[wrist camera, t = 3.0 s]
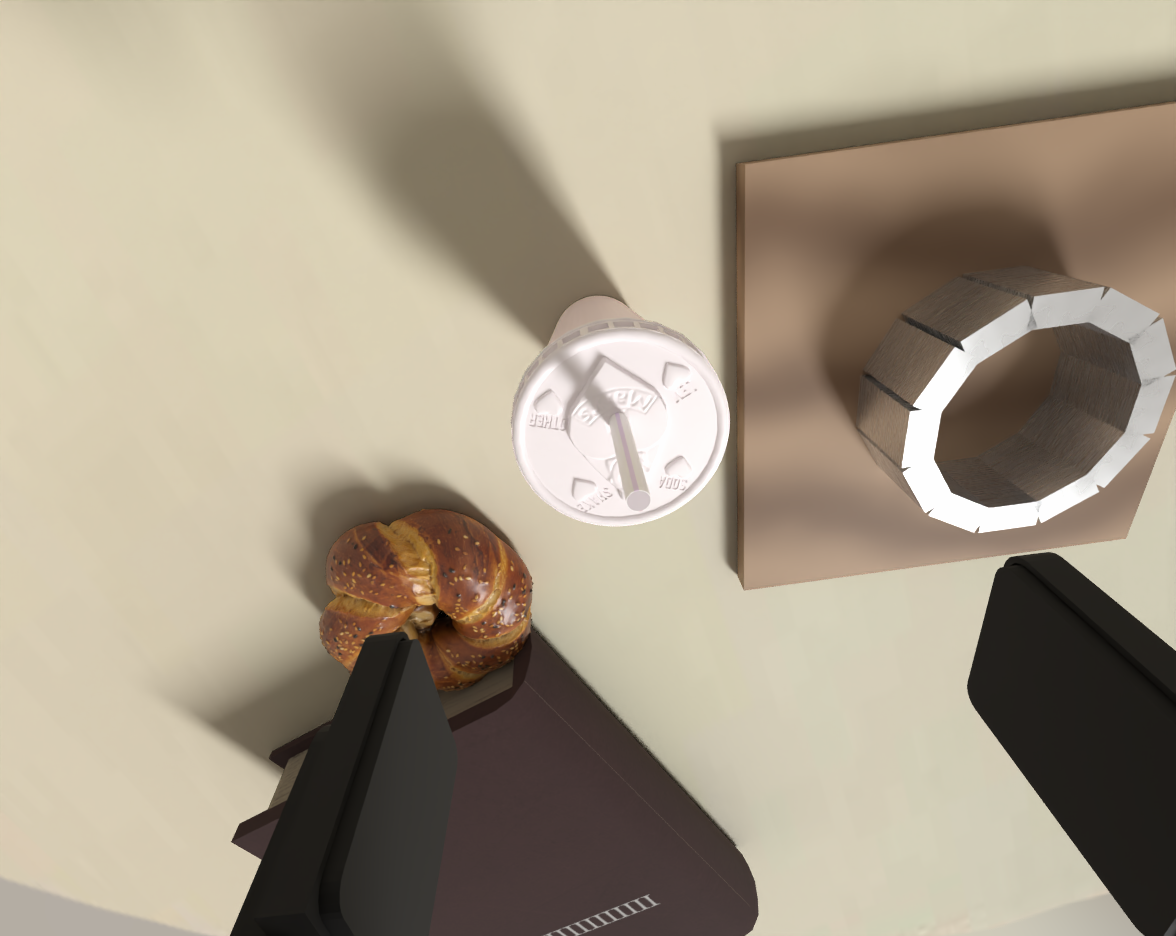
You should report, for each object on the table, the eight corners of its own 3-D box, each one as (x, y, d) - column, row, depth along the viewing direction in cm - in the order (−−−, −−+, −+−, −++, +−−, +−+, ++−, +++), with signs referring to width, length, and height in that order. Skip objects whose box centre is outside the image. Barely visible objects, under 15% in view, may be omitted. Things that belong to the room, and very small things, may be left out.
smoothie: (659, 244, 24) (777, 352, 12) (681, 391, 27) (793, 599, 15) (503, 281, 24) (458, 426, 12) (543, 422, 27) (540, 652, 15)
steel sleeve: (869, 286, 24) (925, 311, 20) (1116, 252, 24) (1214, 271, 20) (848, 495, 29) (890, 544, 25) (1053, 467, 29) (1124, 512, 25)
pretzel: (483, 693, 36) (477, 748, 32) (298, 637, 33) (270, 692, 29) (574, 545, 31) (577, 593, 27) (365, 464, 28) (340, 507, 24)
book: (743, 839, 45) (768, 928, 40) (531, 923, 49) (529, 1014, 44) (533, 607, 33) (530, 693, 28) (275, 744, 37) (231, 841, 32)
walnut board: (736, 163, 23) (745, 164, 21) (1264, 88, 22) (1299, 85, 21) (737, 575, 32) (744, 590, 31) (1106, 525, 32) (1126, 538, 31)
